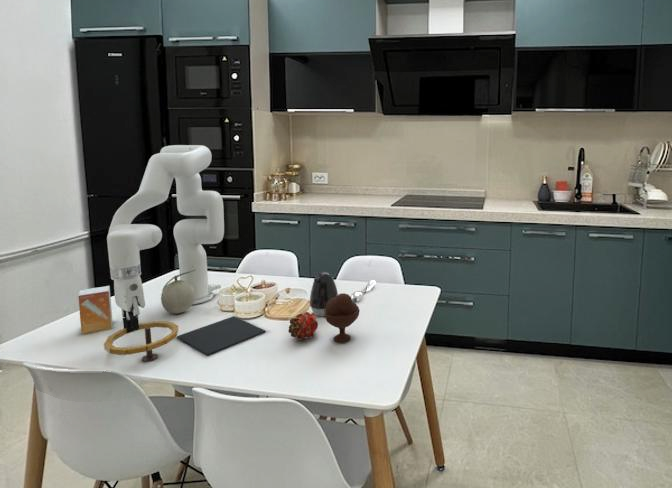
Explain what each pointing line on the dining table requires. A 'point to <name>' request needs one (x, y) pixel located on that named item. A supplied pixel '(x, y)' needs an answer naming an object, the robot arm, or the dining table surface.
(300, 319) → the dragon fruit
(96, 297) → the small box
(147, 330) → the post
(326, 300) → the dark grey tall dome
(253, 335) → the mat
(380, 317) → the dining table surface
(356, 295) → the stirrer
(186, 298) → the fruit
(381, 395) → the dining table surface
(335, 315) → the ice cream bowl
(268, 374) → the dining table surface
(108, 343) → the ring
